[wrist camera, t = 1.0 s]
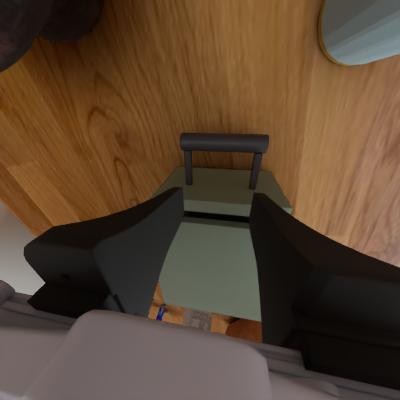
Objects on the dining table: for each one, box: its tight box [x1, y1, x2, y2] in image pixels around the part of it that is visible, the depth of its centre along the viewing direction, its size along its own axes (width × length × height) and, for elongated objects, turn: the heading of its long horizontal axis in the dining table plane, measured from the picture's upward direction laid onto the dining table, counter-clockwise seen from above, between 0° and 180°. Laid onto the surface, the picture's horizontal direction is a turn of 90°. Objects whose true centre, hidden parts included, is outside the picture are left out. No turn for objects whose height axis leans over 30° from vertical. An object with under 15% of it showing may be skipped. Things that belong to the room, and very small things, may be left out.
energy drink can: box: [182, 308, 212, 331], centre depth 31 cm, size 6×6×15 cm
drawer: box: [152, 133, 292, 223], centre depth 18 cm, size 18×11×8 cm, turn 0°
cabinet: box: [159, 216, 261, 322], centre depth 21 cm, size 15×13×10 cm
